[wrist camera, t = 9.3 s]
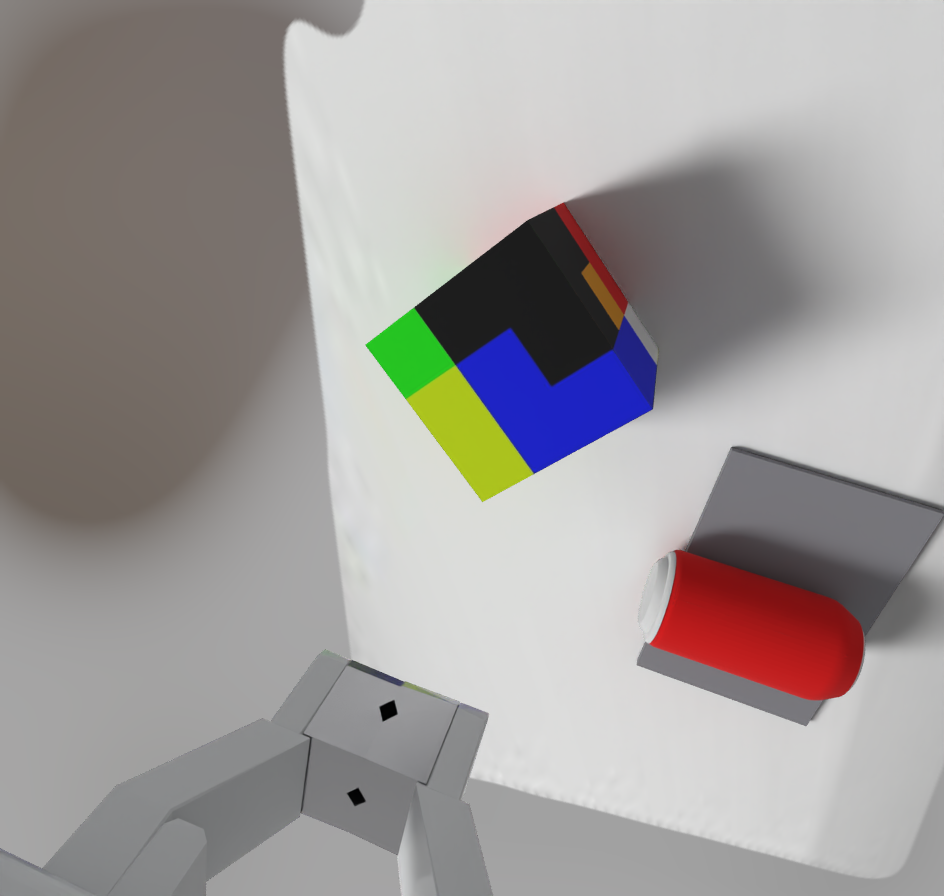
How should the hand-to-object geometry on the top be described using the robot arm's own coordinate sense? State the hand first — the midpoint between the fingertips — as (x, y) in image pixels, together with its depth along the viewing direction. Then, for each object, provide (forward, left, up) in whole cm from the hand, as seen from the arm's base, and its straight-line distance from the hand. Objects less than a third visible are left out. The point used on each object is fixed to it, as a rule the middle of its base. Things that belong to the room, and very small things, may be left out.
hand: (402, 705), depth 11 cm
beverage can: (+15, +8, -28) cm, 32 cm away
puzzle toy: (+2, -3, -31) cm, 32 cm away
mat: (+15, +16, -31) cm, 38 cm away
